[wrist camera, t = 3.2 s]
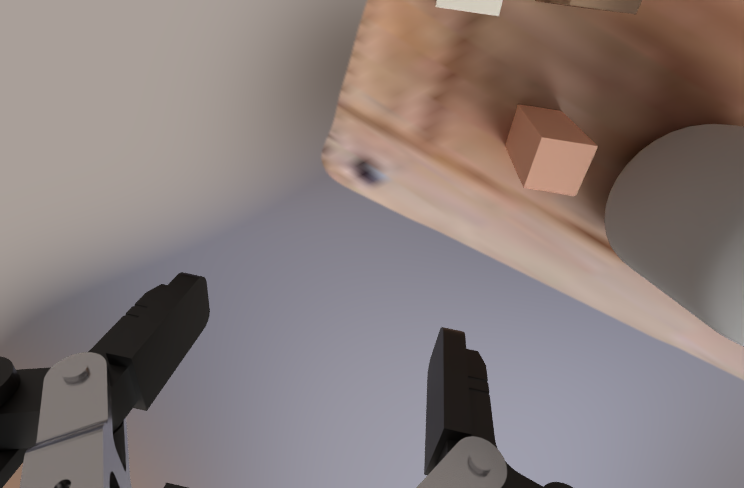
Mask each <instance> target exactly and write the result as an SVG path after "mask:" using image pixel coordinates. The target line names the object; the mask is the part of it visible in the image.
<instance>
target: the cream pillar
mask: <svg viewBox="0 0 744 488" xmlns="http://www.w3.org/2000/svg"><path fill="white" fill-rule="evenodd" d="M502 2H503V0H436V7H439V8H446V9H453V10H460V11H467V12H474V13H481V14H487V15H494V16H499V13H500V9H501V5H502Z"/></svg>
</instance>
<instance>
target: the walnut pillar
mask: <svg viewBox="0 0 744 488" xmlns="http://www.w3.org/2000/svg"><path fill="white" fill-rule="evenodd" d="M535 1H539V2H546V3H553V4H560V5H567V6H575V7H582V8H589V9H597V10H605V11H614V12H622V13H630V14H636V13H637V11H638V9H639V6H640V4H641V1H642V0H535Z"/></svg>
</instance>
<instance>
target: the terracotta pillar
mask: <svg viewBox="0 0 744 488" xmlns="http://www.w3.org/2000/svg"><path fill="white" fill-rule="evenodd" d="M505 147H506V149H507V151H508V153H509V156H510V158H511V160H512V162H513V165H514V167H515V169H516V171H517V174H518V176H519V178H520V180H521V183H522V185H523V187H524V188H529V189H535V190H541V191H547V192H553V193H559V194H565V195H571V196H576V195H577V192H578V190H579V188H580V186H581V183H582V181H583V179H584V177H585V175H586V172H587V170H588V168H589V166H590V163H591V161H592V159H593V157H594V154H595V152H596V150H597V148H598V146H597V145H596V144H595V143H594V142H593V141H592V140H591V139H590V138H589V137H588V136H587V135H586V134H585V133H584V132H583V131H582V130H581V129H580V128H579V127H578V126H577V125H575V124H574V123H573V122H572V121H571V120H570V119H569V118H568V117H567V116H566V115H565V114H564V113H563V112H562V111H559V110H552V109H546V108H540V107H533V106H527V105H520V104H518V106H517V109H516V112H515V115H514V119H513V122H512V125H511V128H510V131H509V135H508V138H507V141H506V144H505Z"/></svg>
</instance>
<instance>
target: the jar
mask: <svg viewBox="0 0 744 488" xmlns="http://www.w3.org/2000/svg"><path fill="white" fill-rule="evenodd" d="M604 223H605V230H606V235H607V238H608V240H609V243H610V245H611V247H612V249H613V250H614V251H615V253H616V254H617V255H618V257H619V258H620V259H621V260H622V261H623V262H624V263H626V264H627V265H628V266H629V267H630V268H632V269H633V270H634V271H636V272H637V273H638V274H640V275H641V276H642V277H644V278H645V279H646V280H648V281H649V282H650V283H652V284H653V285H654V286H656V287H657V288H658V289H660V290H661V291H662V292H664V293H665V294H666V295H668V296H669V297H670V298H672V299H673V300H674V301H676V302H677V303H678V304H680V305H681V306H682V307H684V308H685V309H686V310H688V311H689V312H691V313H692V314H693V315H695V316H696V317H697V318H699V319H700V320H701V321H703V322H704V323H705V324H707V325H708V326H709V327H711V328H712V329H713V330H715V331H716V332H717V333H719V334H720V335H722V336H724V337H726V338H727V339H729V340H731V341H733V342H735V343H737V344H739V345H741V346H743V347H744V126H735V125H723V124H704V125H696V126H689V127H686V128H682V129H679V130H676V131H673V132H670V133H669V134H667V135H665V136H663V137H661V138H659V139H657V140H655V141H653V142H652V143H651V144H649V145H648V146H647V147H645V148H644V149H642V150H641V151H640V152H639V153H638V154H637V155H636V156H635V157H634V158H633V159H632V160H631V161H630V162H629V163H628V164H627V165H626V166H625V168H624V169H623V170H622V172H621V173H620V175H619V176H618V177H617V179H616V181H615V183H614V185H613V187H612V189H611V191H610V193H609V197H608V200H607V204H606V207H605V219H604Z"/></svg>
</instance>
